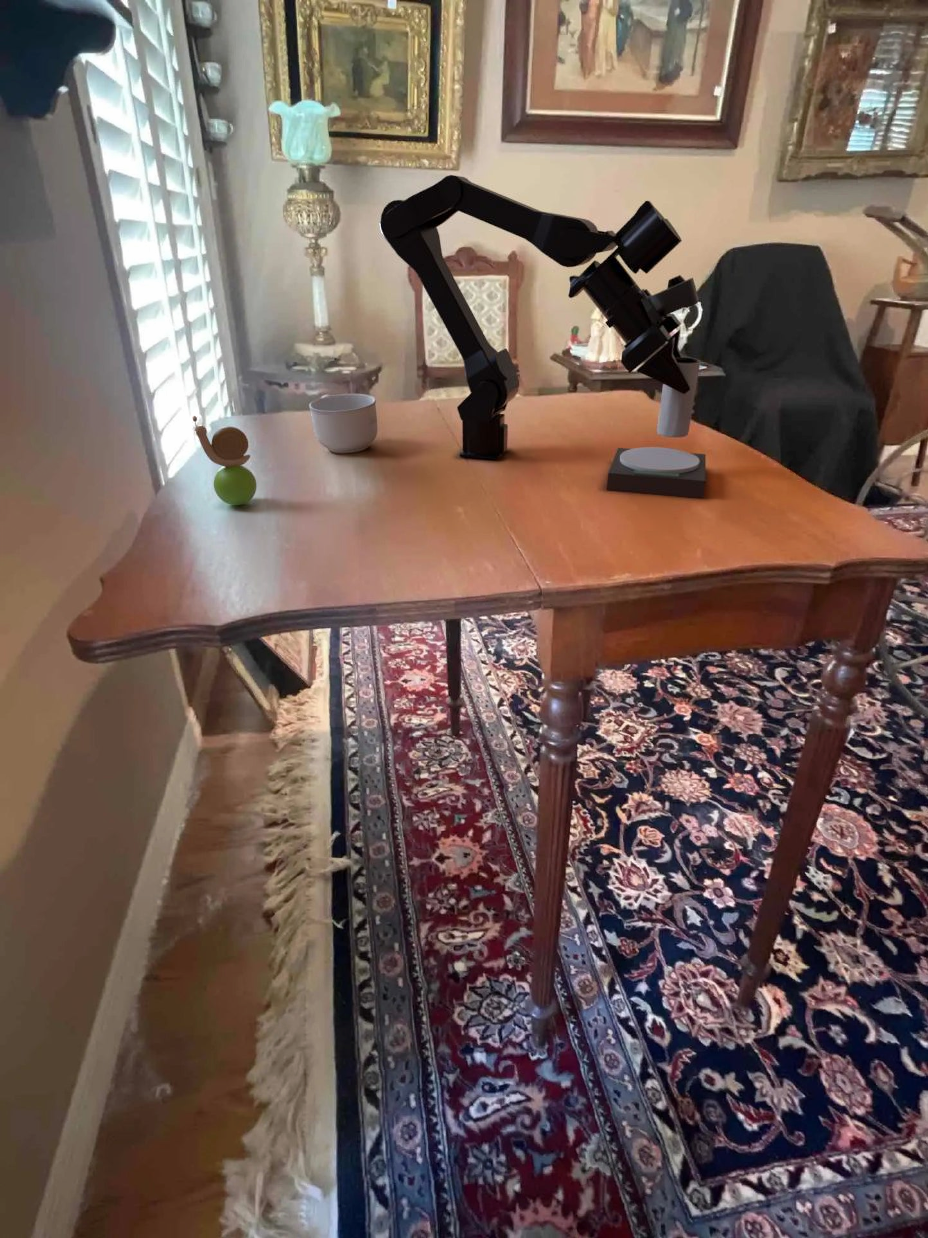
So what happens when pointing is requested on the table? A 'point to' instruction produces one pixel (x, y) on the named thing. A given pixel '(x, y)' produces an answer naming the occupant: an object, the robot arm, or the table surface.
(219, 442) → the snail figurine
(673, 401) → the grey cylindrical piece
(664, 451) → the scale
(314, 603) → the table surface
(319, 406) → the teacup
